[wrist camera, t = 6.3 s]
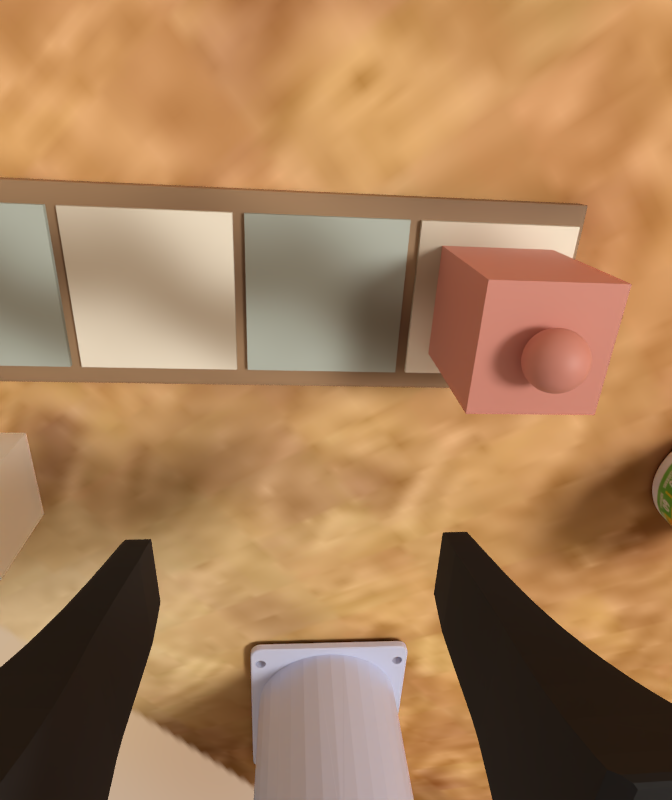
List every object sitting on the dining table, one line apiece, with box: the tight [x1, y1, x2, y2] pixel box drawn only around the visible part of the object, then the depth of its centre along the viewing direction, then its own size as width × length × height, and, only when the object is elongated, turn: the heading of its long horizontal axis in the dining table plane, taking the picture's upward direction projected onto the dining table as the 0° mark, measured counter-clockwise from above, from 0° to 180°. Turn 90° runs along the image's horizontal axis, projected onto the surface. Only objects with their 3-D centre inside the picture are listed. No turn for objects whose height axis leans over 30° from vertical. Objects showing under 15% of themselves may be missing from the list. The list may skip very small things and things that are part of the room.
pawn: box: [428, 246, 631, 415], centre depth 17 cm, size 4×4×7 cm
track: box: [0, 178, 587, 388], centre depth 20 cm, size 7×24×1 cm, turn 87°
